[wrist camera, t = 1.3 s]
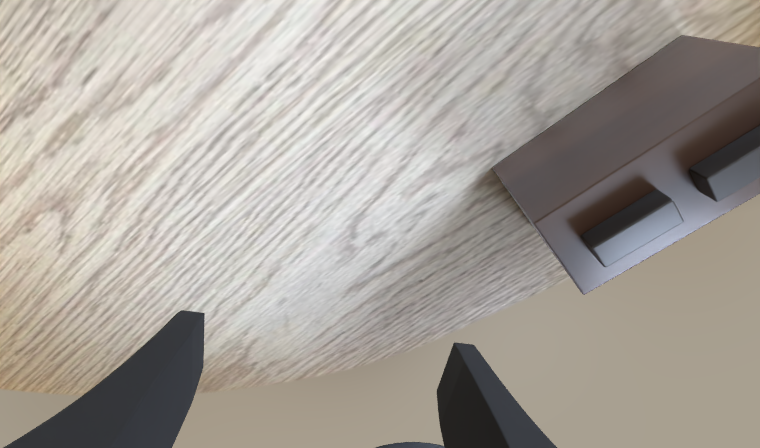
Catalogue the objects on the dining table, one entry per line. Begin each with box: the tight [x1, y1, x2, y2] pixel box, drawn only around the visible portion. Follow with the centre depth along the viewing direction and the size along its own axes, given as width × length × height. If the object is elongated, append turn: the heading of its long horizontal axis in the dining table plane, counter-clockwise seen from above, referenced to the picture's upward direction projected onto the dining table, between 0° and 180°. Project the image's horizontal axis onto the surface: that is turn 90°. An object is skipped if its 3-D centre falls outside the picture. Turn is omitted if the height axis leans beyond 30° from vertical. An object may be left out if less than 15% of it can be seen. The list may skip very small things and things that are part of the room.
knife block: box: [492, 35, 760, 295], centre depth 19 cm, size 4×10×7 cm, turn 128°
